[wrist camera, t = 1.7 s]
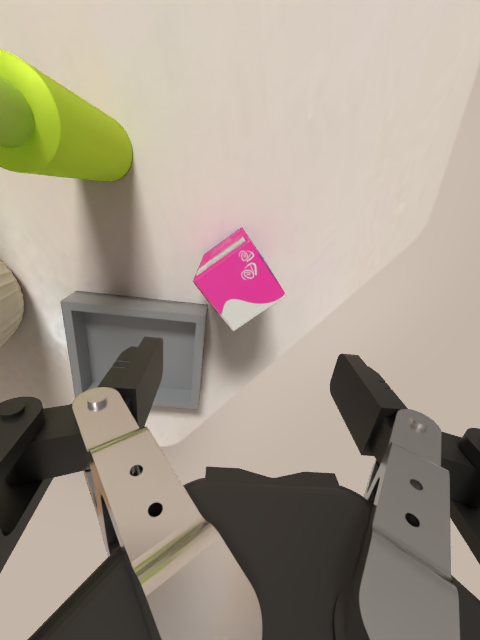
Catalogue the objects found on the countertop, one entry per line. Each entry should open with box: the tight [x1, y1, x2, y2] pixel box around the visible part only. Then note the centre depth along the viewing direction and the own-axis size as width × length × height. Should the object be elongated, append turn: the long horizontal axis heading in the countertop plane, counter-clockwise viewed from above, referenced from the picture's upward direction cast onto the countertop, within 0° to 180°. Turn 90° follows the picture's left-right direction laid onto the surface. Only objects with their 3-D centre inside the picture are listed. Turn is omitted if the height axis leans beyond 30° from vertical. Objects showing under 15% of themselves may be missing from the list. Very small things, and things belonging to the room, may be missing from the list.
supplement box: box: [193, 228, 286, 331], centre depth 28 cm, size 6×6×12 cm
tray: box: [61, 291, 207, 409], centre depth 36 cm, size 16×14×4 cm
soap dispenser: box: [0, 49, 133, 182], centre depth 18 cm, size 6×7×20 cm
